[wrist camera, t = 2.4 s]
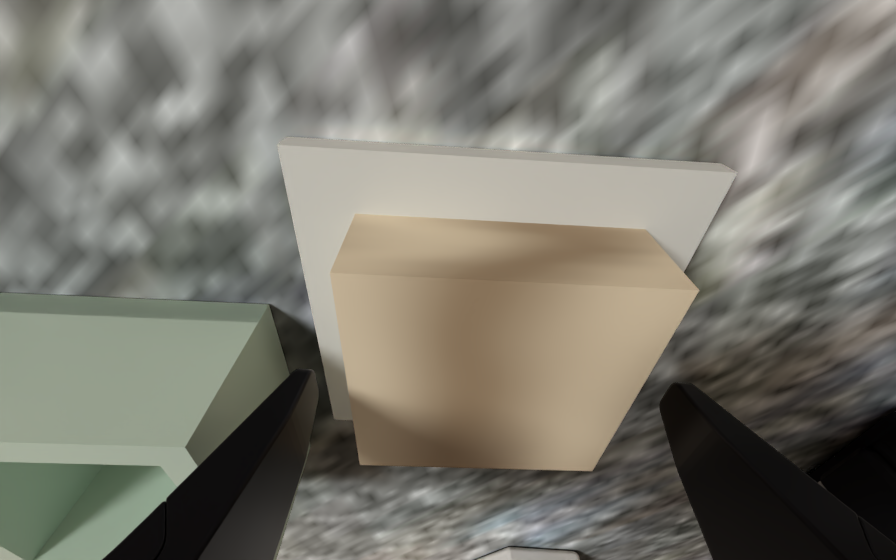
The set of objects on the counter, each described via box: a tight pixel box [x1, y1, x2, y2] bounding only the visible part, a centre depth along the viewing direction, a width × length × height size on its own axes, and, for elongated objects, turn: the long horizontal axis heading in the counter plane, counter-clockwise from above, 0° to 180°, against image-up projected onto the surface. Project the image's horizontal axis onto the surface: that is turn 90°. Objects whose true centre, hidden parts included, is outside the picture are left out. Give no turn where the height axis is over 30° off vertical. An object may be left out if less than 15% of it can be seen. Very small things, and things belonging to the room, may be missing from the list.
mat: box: [277, 137, 737, 420], centre depth 11 cm, size 10×10×1 cm
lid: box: [330, 214, 699, 471], centre depth 10 cm, size 7×7×2 cm
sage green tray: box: [0, 293, 311, 560], centre depth 12 cm, size 8×8×4 cm
